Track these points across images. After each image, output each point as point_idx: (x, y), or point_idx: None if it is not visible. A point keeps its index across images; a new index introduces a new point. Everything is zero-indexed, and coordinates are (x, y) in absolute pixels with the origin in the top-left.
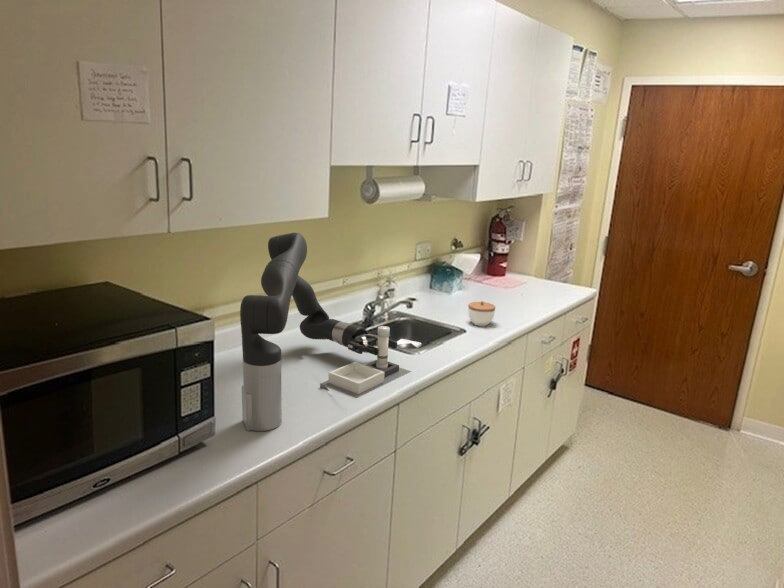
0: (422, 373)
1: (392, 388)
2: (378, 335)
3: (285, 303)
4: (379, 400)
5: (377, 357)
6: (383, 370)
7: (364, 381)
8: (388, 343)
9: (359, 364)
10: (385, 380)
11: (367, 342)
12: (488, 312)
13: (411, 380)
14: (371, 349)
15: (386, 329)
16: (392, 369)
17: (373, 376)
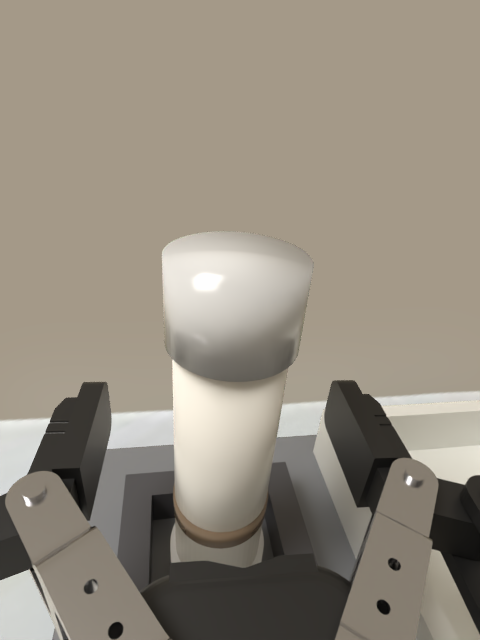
0: (34, 444)
1: (291, 428)
2: (299, 342)
3: None
4: (400, 398)
5: (261, 522)
6: (271, 480)
7: (475, 402)
8: (89, 474)
9: (434, 596)
10: (295, 458)
11: (336, 573)
12: None
13: (155, 428)
14: (386, 418)
15: (253, 234)
16: None
17: (409, 407)
